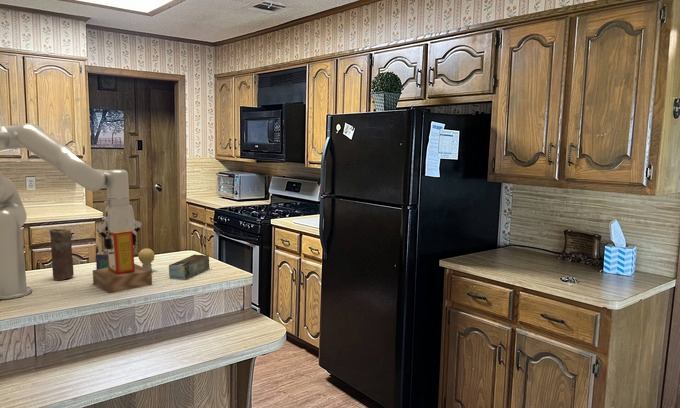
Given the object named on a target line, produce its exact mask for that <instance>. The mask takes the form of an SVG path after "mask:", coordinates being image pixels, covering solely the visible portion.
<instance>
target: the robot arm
mask: <svg viewBox="0 0 680 408" xmlns="http://www.w3.org/2000/svg"><path fill="white" fill-rule="evenodd" d="M16 149H25V150H27V151H29V152H30V153H32V154H34V155H35V156H36V157H38V158H39V159H41V160H43V161H44V162H46V163H47V164H49V165H50V166H51V167H53V168H54V169H56V171H59V173H61V174H63V175H65V177H67V178H68V179H70V180H71V181H72V182H74V183H76V184H77V185H79V186H80V187H82V188H84V189H86V190H88V191H91V192H97V191H100V190H102V189H106V195H107V196H106V197H107V198H106V200H104V201H103V203H104V205H107V206H106V207H105V213H104V223H101V224H100V225H98V226H97V227H96V228H95V229H96V231H97V233H98V235H99V236H100V237H102V239H103V242H104V243H103V244H104V248H105V250H107V249H111V239H109V237H110V236H111V235H112V233H115V232H121V231H127V230H131V231H132V237H133V246H136V243H137V234H138V233H139V231H140V229H141V226H143V225H142V224H143V223H142V222H141V221H139V220H136V219H135V214H134V213H135V212H134V208H133V206H132V205H131V204H130V191H129V190H130V189H129V174H128V173H129V172H128V171H127V170H126V169H110V170H109V169H108V170H106V169H98V168H97V169H95V168H94V167H92V166H90V165H89V164H87V163H86V162H84V161H83V160H82V159H80V158H79V156H76V154H74V153H73V151H72V150H71V148H69V147H68V146H67V145H65V144H64V143H63V142H61V141H59V140H57V139H56V138H55V137H53V136H51V135H50V134H49V133H47V132H46V131H45V130H44V129H43V128H42V127H41V126H40V125H38V124H35V123H31V122H30V123H28V122H27V123H26V122H25V123H23V124H18V125H17V124H16V125H0V151H1V150H2V151H4V150H16ZM27 219H28V218H27V212H26V209H25V206H24V204H23V202H22V198H21V196H20V194H19V191H18V189H17V186H16V185H15V184H14V182H13V180H11V179H10V178H8V177H5V176H3V174H2V171H1V170H0V300H8V299H9V300H10V299H16V298H21V297H25V296H27V295H30V294H31V293H32V292H33V288H32V287H31V286H28V285H27V275H26V263H25V249H24V239H23V233H22V232H23V231H22V227H23V226H24V224H25V223H26V221H27ZM103 229H104V230H105V232H104V231H103Z"/></svg>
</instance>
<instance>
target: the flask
mask: <svg viewBox="0 0 680 408" xmlns="http://www.w3.org/2000/svg"><path fill="white" fill-rule="evenodd" d="M95 263H96V264H95V265H96V269H95V270H98V269H103V268H109V266H108V253H107V249H104V251H100V252H97V253H95Z"/></svg>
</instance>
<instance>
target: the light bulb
mask: <svg viewBox="0 0 680 408" xmlns="http://www.w3.org/2000/svg"><path fill="white" fill-rule="evenodd" d="M137 256H138V260H139V261H140V263H141V266H142V267H144V268H146V269H149V270H151V271H152V270H153V269H152V268H153V267H152V263H153V262H154V259H155V252H154V250H152V249H151V248H142V249H141V250H140V251H139V252H138V255H137ZM152 272H153V271H152Z"/></svg>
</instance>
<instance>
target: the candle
mask: <svg viewBox="0 0 680 408" xmlns="http://www.w3.org/2000/svg"><path fill="white" fill-rule="evenodd" d="M71 233H72V232H71V230H69V229H66V228H63V229H57V228H51V229H49V235H50V249H51V250H50V251H51V264H52V265H51V268H52V279H53V281H63V280H67V279H70V278H72V277H73V276H74V274H75V273H74V259H73V248H72V236H71Z"/></svg>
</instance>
